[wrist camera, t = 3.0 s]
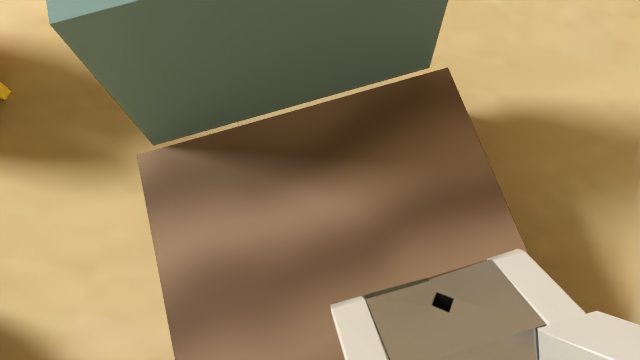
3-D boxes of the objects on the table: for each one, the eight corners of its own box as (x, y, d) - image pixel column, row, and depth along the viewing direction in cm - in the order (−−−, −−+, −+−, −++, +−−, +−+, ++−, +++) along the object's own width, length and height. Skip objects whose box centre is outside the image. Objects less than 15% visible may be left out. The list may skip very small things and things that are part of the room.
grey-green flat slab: (429, 67, 30) (472, -89, 20) (153, 145, 29) (49, 24, 19) (413, 29, 31) (447, -140, 21) (145, 103, 30) (41, -35, 20)
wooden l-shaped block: (550, 392, 29) (700, 409, 17) (228, 495, 28) (138, 593, 16) (433, 108, 35) (482, -33, 23) (165, 184, 34) (64, 81, 22)
